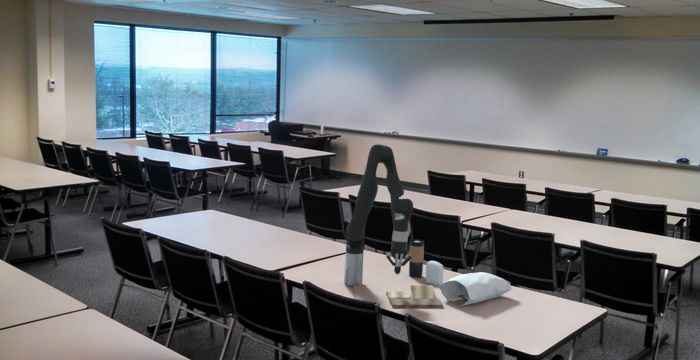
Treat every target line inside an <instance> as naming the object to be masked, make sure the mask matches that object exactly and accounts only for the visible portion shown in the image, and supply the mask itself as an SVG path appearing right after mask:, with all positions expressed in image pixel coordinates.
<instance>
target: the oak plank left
mask: <svg viewBox="0 0 700 360" xmlns="http://www.w3.org/2000/svg"><path fill="white" fill-rule="evenodd" d="M385 296H386V298H387V300H388V301H389V299H393V298H413V296H411V294H410V292H409V291H386V292H385Z"/></svg>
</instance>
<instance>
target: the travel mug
mask: <svg viewBox="0 0 700 360" xmlns="http://www.w3.org/2000/svg"><path fill="white" fill-rule="evenodd" d="M409 243H410V244H409V255H410V256H411V259H410V260H409V261H408V263H409V265H408V269H409V270H408V277H410V278H413V279H420V278H422V277H423V268H424V257H425V256H424V255H425V254H424V253H425V241H424V240H423V239H420V238H419V239H417V238H414V239H410V241H409Z"/></svg>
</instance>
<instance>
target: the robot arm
mask: <svg viewBox="0 0 700 360" xmlns="http://www.w3.org/2000/svg"><path fill="white" fill-rule="evenodd" d="M379 164H383V165H384V167H385V169H386V177H385V185H386V188H387V191H388V192H389V196H390V197H389V198H390V206H391V208H390V209H391V210H392V212H393V213H395V214H396V215H398V214H399V215H400V216H399V217H395V218H394V219H393V220H394V221H393V227H392V228H393V230H392V233H391V234H392V236H391V247H390V248H391V250H390V252H389V253H386V254H385V257H386V259H387V260H388V262H389V263H390V264H391V265H392V266H393V267H394V268H393V269H394V273H395V274H396V275H399V274H401V270H402V269H401V268H402V267H405V266H406V265H407V264H408V263H409V260H410V259H411V256H410V253H408V238H409V224H410V223H409V222H410V219H411V216H412V215H413V210H414V203H413V201H412V200H411V199H410V198H401V197H402V196H403V195H404V194H405V190H404V187H403V184H402V183H401V180H400V177H399V174H398V170H397V165H396V160H395V155H394V152H393V149H392V147H390V146H388V145H384V144H379V143H374V144H373V145H371V147H370V149H369V152H368V156H367V161H366V166H365V170H364V174H363V177H362V180H361V183H360V186H359V189H358V192H357V197H356V199H355V206H354V210H353V213H352V217H351V219H350V222H349V223H348V225H347V227H346V230H345V231H346V244H345V264H344V278H343V279H344V281H343V283H344V285H345V286H349V287H354V286H362V285H363V277H364V276H363V273H364V254H365V253H364V250H365V234H366V233H365V232H366V229H365V228H366V224H367V219H368V216H369V214H370V212H371V210H372V208H373V205H374V202H375V200H376V198H377V194H378V190H379V186H378V183H379V182H378V179H377V169H378V166H379ZM392 258H393V259H394V261H393V260H392Z"/></svg>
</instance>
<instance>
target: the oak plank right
mask: <svg viewBox="0 0 700 360" xmlns="http://www.w3.org/2000/svg"><path fill="white" fill-rule="evenodd" d="M410 293H411V295H412V296H411V297H412V298H437V296H436V292H435V289H434V285H432V284H428V285H420V284H419V285H417V284H415V285H413V284H411V285H410Z"/></svg>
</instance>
